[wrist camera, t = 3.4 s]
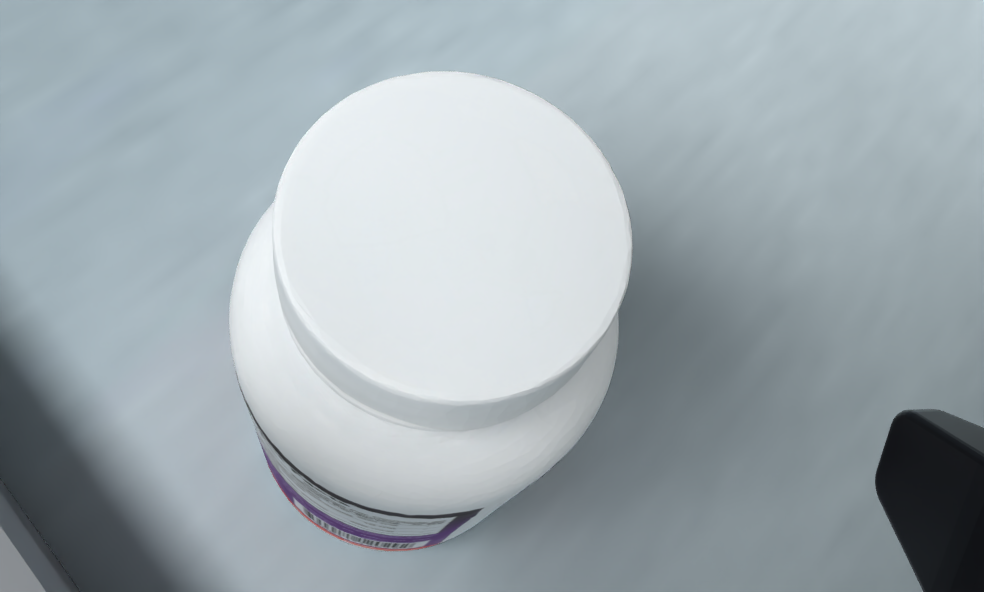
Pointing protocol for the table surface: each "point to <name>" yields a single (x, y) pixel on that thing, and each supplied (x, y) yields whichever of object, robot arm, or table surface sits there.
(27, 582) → the tray
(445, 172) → the pill bottle
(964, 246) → the table surface
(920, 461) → the robot arm
